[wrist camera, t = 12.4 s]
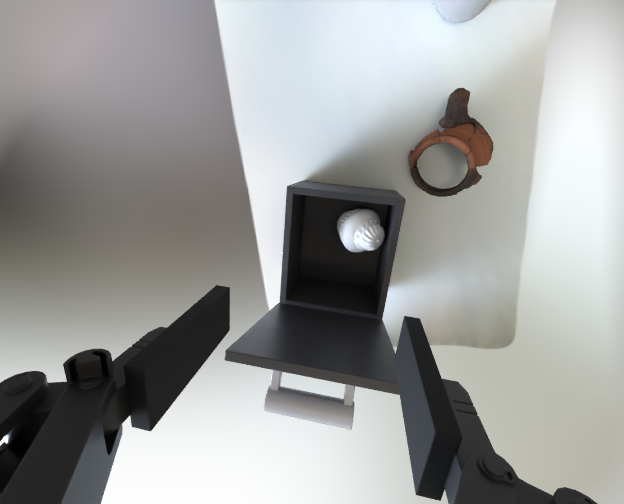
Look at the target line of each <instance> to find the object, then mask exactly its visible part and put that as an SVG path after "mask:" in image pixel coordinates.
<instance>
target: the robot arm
mask: <svg viewBox="0 0 624 504" xmlns="http://www.w3.org/2000/svg"><path fill="white" fill-rule="evenodd" d="M229 315H230V288H229V287H224V286H218V285H216V286H215V287H214V288H213V289H212V290H211V291H209V292H208V293H207V294H206V295H205V296H204V297H202V298H201V299H200V300H199V301H198V302H197V303H196V304H194V305H193V306H192V307H191V308H190V309H189V310H187V311H186V312H185V313H184V314H183V315H182V316H181V317H179V318H178V319H177V320H176V321H175V322H174V323H172V324H171V325H170V326H169V327H168V328H164V327H159V328H157V329H155V330H153V331H150V332H148V333H147V334H146V335H145V336H143V337H142V338H141V339H140V340H139V341H137V342H136V343H135V344H133V345H132V347H130V348H128V349H127V350H126V351H125V352H123V353H122V354H121V355H120V356H119V357H117V358H116V359H115V360H114V361H112V358H111V353H110V352H109V351H107V350H105V349H91V350H86V351H83V352H80V353H78V354H76V355H74V356H72V357H71V358H69V359H68V360H67V361H66V362H65V363H64V364H63V366H64V370H65V374H66V379H67V382H55V383H48V382H47V378H46V375H45V374H44V373H43V372H39V371H31V372H24V373H20V374H17V375H14V376H12V377H10V378H8V379H6V380H4V381H3V382H1V383H0V441H1V440H2V439H3V438H4V440H5V442H4V443H3V444H2V445H1V446H0V504H101V501H102V497H103V494H104V491H105V488H106V484H107V481H108V478H109V475H110V471H111V468H112V465H113V462H114V458H115V455H116V452H117V449H118V446H119V442H120V439H121V436H122V423H123V422H124V421H125V420H126V419H127V418H128V417H129V416H131V423H132V427H135V428H139V429H143V430H147V431H151V430H152V429H153V428H154V427H155V425H156V424H157V422H158V421H159V420H160V419H161V418H162V416H163V415H164V414H165V412H166V411H167V410H168V409H169V407H170V406H171V405H172V403H173V402H174V401H175V400H176V398H177V397H178V396H179V395H180V393H181V392H182V391H183V389H184V388H185V387H186V385H187V384H188V383H189V382H190V380H191V379H192V378H193V377H194V375H195V374H196V373H197V371H198V370H199V369H200V368H201V366H202V365H203V364H204V362H205V361H206V360H207V359H208V357H209V356H210V355H211V353H212V352H213V351H214V350H215V348H216V347H217V346H218V344H219V343H220V342H221V341H222V339H223V338H224V337H225V335H226V334H227V333H228V331H229V330H230V329H229V328H230V326H229V322H230V319H229V318H230V317H229ZM394 361H395V368H396V374H397V380H398V386H399V392H400V399H401V405H402V411H403V417H404V424H405V429H406V435H407V442H408V448H409V455H410V461H411V467H412V473H413V479H414V486H415V492H416V495H419V496H423V497H427V498H431V499H435V500H441V498H442V495H443V492H444V489H445V491H446V495H447V498H448V503H449V504H597V503H596V502H594V501H593V500H592V499H591V498H589V497H588V496H586V495H584V494H582V493H580V492H578V491H576V490H573V489H569V488H566V487H564V488H558V489H557V490H556V492H555V493H554V495H553V496H552V495H550V494H548V493H546V492H544V491H542V490H540V489H538V488H536V487H534V486H532V485H530V484H528V483H526V482H524V481H523V480H521V479H519V478H518V477H517V475H516V473H515V472H514V470H513V468H512V467H511V466H510V465H509V464H508V463H507V462H506V461H505V459H503V458H502V457H500V456H499V455H498V454H496V453H495V451H494V449H493V447H492V445H491V443H490V440H489V438H488V436H487V434H486V432H485V430H484V427H483V425H482V423H481V421H480V419H479V416H477V412H476V410H475V407H474V406H473V403H472V401H471V399H470V396H469V394H468V392H467V391H466V390H465V389H464V388H463V387H462V386H461V385H460V384H459V382H456V381H451V380H445V379H441V376H440V373H439V370H438V368H437V365H436V362H435V359H434V356H433V354H432V351H431V348H430V345H429V343H428V340H427V337H426V334H425V332H424V329H423V326H422V323H421V321H420V319H419V318H413V317H407V316H404V320H403V324H402V329H401V333H400V338H399V342H398V347H397V351H396V356H395V360H394Z"/></svg>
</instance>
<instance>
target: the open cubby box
mask: <svg viewBox="0 0 624 504" xmlns="http://www.w3.org/2000/svg"><path fill="white" fill-rule="evenodd" d="M404 205H405V199H404V198H403V197H402V196H401V195H400V194H399V193H398V192H396V191H391V190H382V189H373V188H364V187H355V186H345V185H336V184H327V183H318V182H309V181H301V182H298V183H295V184H292V185H289V186H287V197H286V213H285V228H284V244H283V259H282V275H281V291H280V303H284V304H290V305H296V306H302V307H308V308H314V309H320V310H326V311H332V312H338V313H344V314H350V315H356V316H362V317H368V318H374V319H380V320H382V317H383V312H384V307H385V302H386V297H387V292H388V287H389V282H390V276H391V271H392V266H393V261H394V256H395V251H396V246H397V241H398V236H399V231H400V226H401V220H402V215H403V210H404ZM355 209H370V210H373V211H374V212H375V213H376V214H377V215H378V216H379V218H380V226H381V227H383V230H384V232H385V233H384V235H385V237H384V238H383V239H384V241H382V244H381V245H380V247H379V248H377V249H375V250H370V251H368V250H365V251H363V252H351V251H349V250H348V249H347V248H346V247H345V246H344V244H343V242H342V241H341V239H340V236H339V233H338V230H337V221H338V219H339V217H340V216H341V215H342V214H343V213H344V212H347V211H351V210H355Z"/></svg>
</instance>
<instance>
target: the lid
mask: <svg viewBox="0 0 624 504" xmlns="http://www.w3.org/2000/svg"><path fill="white" fill-rule="evenodd" d="M395 356H396V354H395V352H394V349H393V346H392V344H391V341H390V338H389V336H388V333H387V331H386V328H385V325H384V323H383V320H380V319H374V318H368V317H362V316H356V315H350V314H344V313H338V312H332V311H326V310H320V309H314V308H308V307H302V306H296V305H290V304H284V303H278V304H277V305H276V306H275V307H274V308H273V309H272V310H270V311H269V312H268V313H267V314H266V315H265V316H264V317H263V318H261V319H260V320H259V321H258V322H257V323H256V324H255V325H254V326H252V327H251V328H250V329H249V330H248V331H247V332H246V333H245V334H244V335H242V336H241V337H240V338H239V339H238V340H237V341H236V342H235V343H233V344H232V345H231V346H230V347H229V348H228V349H227V350H226V352H225V360H226V361H231V362H236V363H241V364H247V365H252V366H257V367H262V368H267V369H272V377H271V385H270V386H269V388H268V390H267V394H266V398H265V404H264V410H265V411H267V412H271V413H276V414H281V415H285V416H290V417H294V418H299V419H304V420H308V421H313V422H317V423H322V424H327V425H331V426H336V427H340V428H345V429H350V430H351V428H352V423H353V414H354V401H353V397H354V391H355V386H358V387H363V388H368V389H373V390H378V391H383V392H388V393H393V394H398V395H400V392H399V386H398V380H397V374H396V368H395V361H394V360H395ZM282 372H287V373H292V374H297V375H302V376H307V377H312V378H317V379H323V380H328V381H332V382H337V383H342V384H346V388H345V394H344V399H340V398H335V397H330V396H325V395H320V394H315V393H310V392H306V391H301V390H296V389H291V388H286V387H281V386H280V382H281V375H282Z"/></svg>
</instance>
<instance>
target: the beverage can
mask: <svg viewBox="0 0 624 504" xmlns="http://www.w3.org/2000/svg"><path fill="white" fill-rule="evenodd" d="M489 2H490V0H434V4H435V7H436V10H437V12H438V13H439V14H440V16H441V17H442V18H444V19H445V20H447V21H450V22H454V23H460V22H465V21H468V20H470V19H472V18H474V17H475V16H477V15H478V14H479V13H480V12H481V11H482V10H483V9H484V8H485V7H486V5H487V4H488V3H489Z"/></svg>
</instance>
